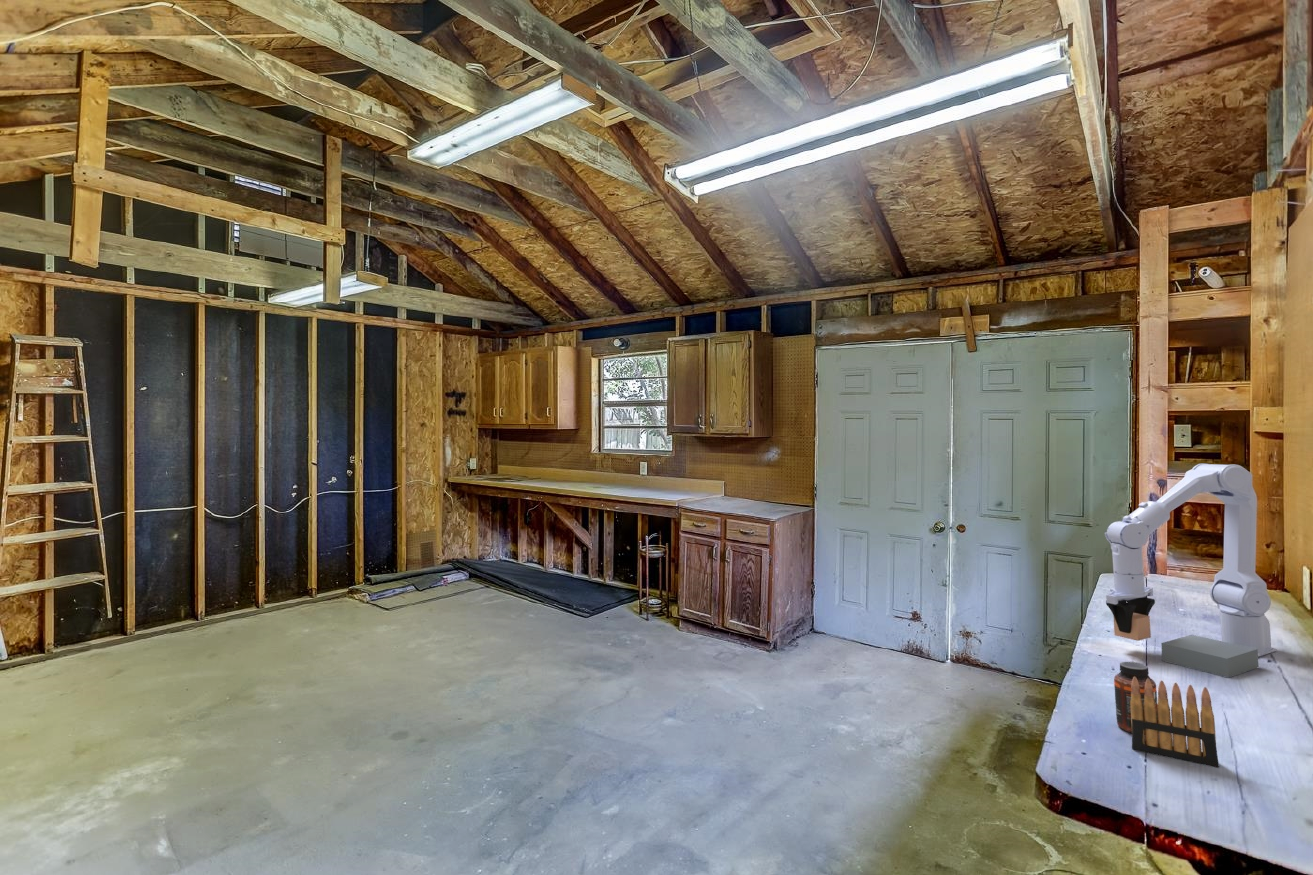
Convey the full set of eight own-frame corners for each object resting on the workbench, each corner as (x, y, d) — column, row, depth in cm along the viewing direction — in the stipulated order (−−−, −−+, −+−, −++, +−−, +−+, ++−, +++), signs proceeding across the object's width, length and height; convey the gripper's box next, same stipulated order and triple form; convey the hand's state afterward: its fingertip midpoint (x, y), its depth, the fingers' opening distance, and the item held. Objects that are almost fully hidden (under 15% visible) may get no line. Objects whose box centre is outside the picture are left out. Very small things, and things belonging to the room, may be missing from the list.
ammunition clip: (1132, 749, 102) (1127, 677, 102) (1132, 745, 103) (1127, 673, 103) (1219, 768, 95) (1214, 690, 95) (1217, 763, 96) (1212, 686, 97)
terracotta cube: (1127, 631, 148) (1126, 611, 149) (1150, 637, 144) (1149, 615, 144) (1114, 635, 147) (1113, 614, 147) (1137, 640, 142) (1136, 619, 142)
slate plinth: (1192, 651, 144) (1191, 634, 144) (1258, 667, 133) (1257, 649, 133) (1162, 660, 140) (1161, 643, 140) (1228, 677, 129) (1226, 658, 129)
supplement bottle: (1167, 738, 105) (1163, 671, 105) (1128, 736, 106) (1124, 670, 106) (1147, 722, 111) (1143, 659, 111) (1110, 721, 112) (1106, 658, 112)
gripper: (1128, 566, 152) (1132, 621, 152) (1091, 573, 146) (1095, 630, 146) (1161, 571, 146) (1165, 628, 145) (1123, 578, 140) (1127, 638, 140)
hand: (1132, 630), depth 145 cm, fingers closed on terracotta cube, 5 cm apart
